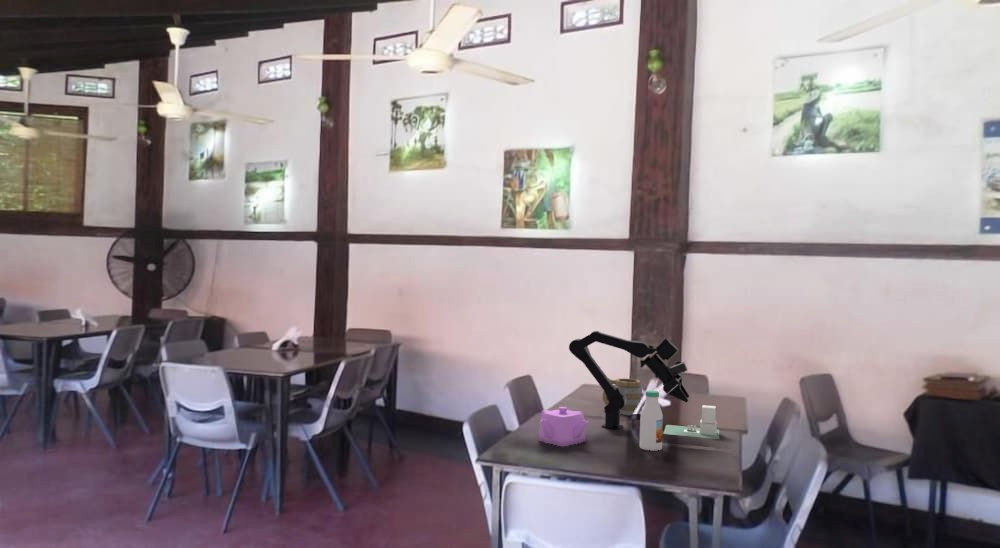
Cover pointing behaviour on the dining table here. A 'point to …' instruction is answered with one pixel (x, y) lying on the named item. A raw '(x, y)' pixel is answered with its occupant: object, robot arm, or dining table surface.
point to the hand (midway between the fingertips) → (687, 399)
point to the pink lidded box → (562, 426)
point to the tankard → (627, 394)
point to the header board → (688, 431)
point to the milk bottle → (651, 423)
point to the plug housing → (708, 420)
